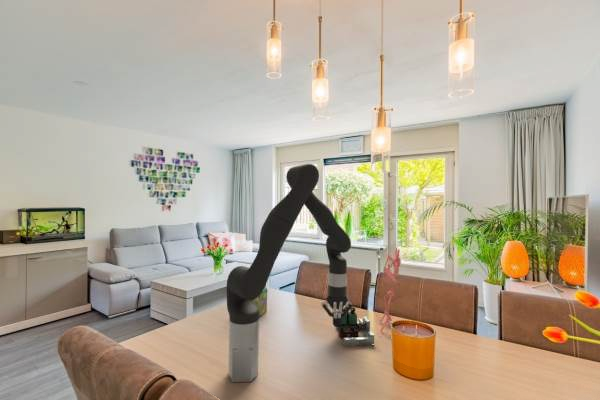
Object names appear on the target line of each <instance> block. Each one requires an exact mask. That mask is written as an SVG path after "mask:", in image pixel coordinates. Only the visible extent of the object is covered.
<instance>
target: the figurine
mask: <svg viewBox="0 0 600 400" xmlns="http://www.w3.org/2000/svg"><path fill="white" fill-rule="evenodd" d="M400 252H401V251H400V248H397V247H395V249H394V258H393V257H391V256H390V255H389V254H387V258H386V260H385V264H384V267H383V272H382V273H383V275H382V280H383V281H384V280H385V276H386V277H387V278H389V279H390V280H391V281H392V282H391V290H389V291H387V294H386V295H384V296H383V297H384V305H385V310H383V312H384V314H383V316H382V318H381V319H380V320H379V322H381V323H382V322H383V320H384V318H385V322H384V323H383V326H382V328H381V329H380V330H381V331H382V332H383V330H384V329H385V326H386V324H388V326H389V328H390V329H391V324H392V322H393V321H392V317H391V315H390V314H389V312H390V311H389V310H390V309H389V307H390V306H389V304H390V301H391V299H392V298H393V297H394V295H395V294H394V291H393V288H394V284H397V279H396V278H399V274H400V273H399V272H400V271H399V270H400V269H399V267H400V266H401V264H402V262H401V258H400ZM388 261H390V262H391V263H390V264H389V266H388V267H387V265H388ZM392 266H393V272H392V270H391V269H390V268H391V267H392ZM386 297H389V300H388V303H387V300H386ZM385 316H386V317H385ZM390 321H392V322H390ZM381 331H380V332H381ZM379 338H381V336H379Z"/></svg>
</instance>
